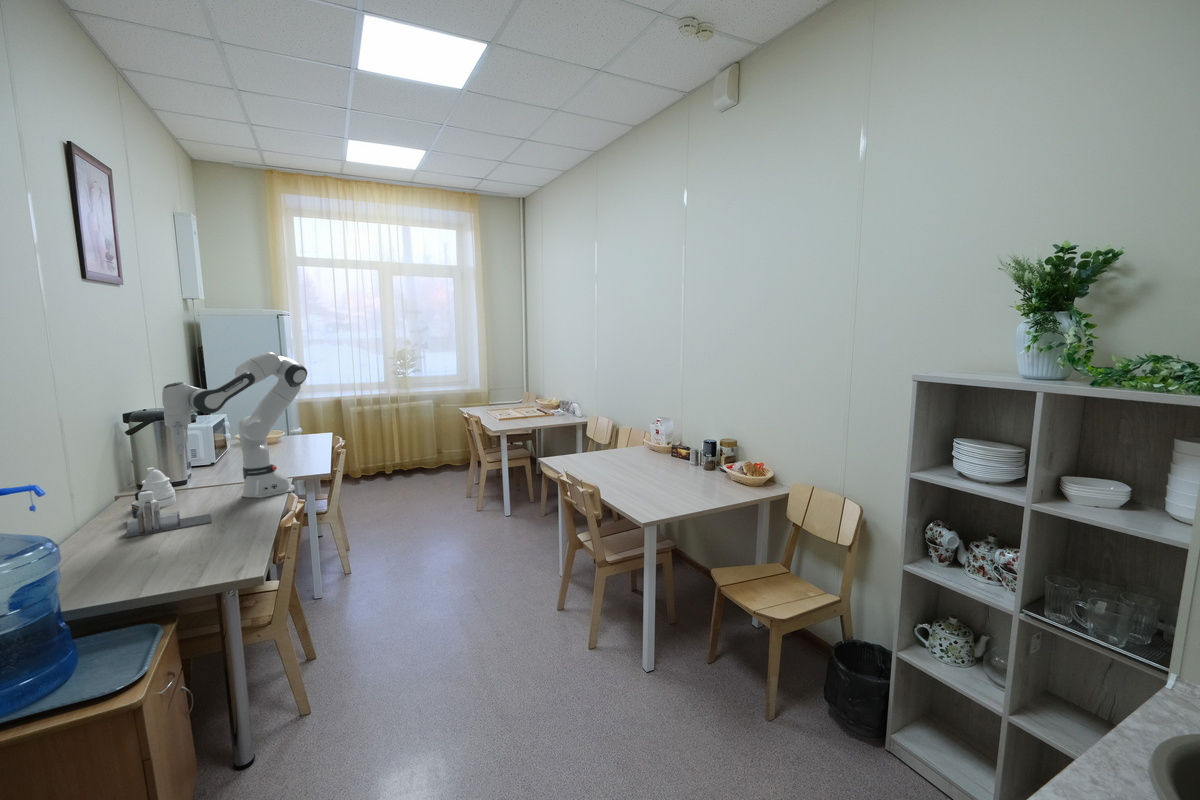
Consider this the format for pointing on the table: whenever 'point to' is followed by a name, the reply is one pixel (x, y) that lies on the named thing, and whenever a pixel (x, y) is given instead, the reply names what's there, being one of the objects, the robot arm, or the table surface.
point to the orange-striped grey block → (164, 521)
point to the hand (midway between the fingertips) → (181, 452)
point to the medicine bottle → (143, 501)
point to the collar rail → (148, 513)
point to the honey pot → (159, 487)
